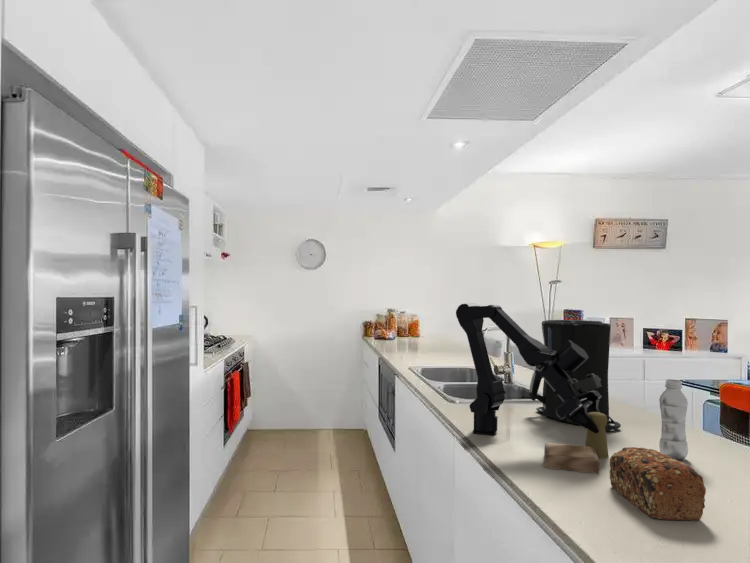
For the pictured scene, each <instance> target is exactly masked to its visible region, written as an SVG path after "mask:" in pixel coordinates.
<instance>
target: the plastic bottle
mask: <svg viewBox="0 0 750 563" xmlns="http://www.w3.org/2000/svg"><path fill="white" fill-rule="evenodd" d="M682 384H683V381H682V380H681V379H679V380H678V379H671V378H670V379H665V384H664V387H665V388H666V389H665V390H664V391H663V392H662V393H661V394H660V395H659V396H660V397H659V398H658V399H659V409H660V414H661V415H660V416H661V430H660V432H661V433H660V438H659V445H658V447H659V452H660V453H662V454H665V455H667V456H670V457H672V458H675V459H677V460H683V459H686V458H687V457H688V454H689V446H688V441H687V434H686V433H687V432H686V421H687V420H686V419H687V411H688V406H689V405H688V404H689V402H688V399H687V396H685V393H683V391H682V390H681V389H682V388H683V386H682Z"/></svg>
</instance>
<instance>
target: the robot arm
mask: <svg viewBox="0 0 750 563" xmlns="http://www.w3.org/2000/svg"><path fill="white" fill-rule="evenodd" d="M455 316H456V319H457V321H458V324H459V326H460V327H461V329H462V330H463V331H464V332H465V334H466V336H467V337H466V339H467V340H468V341H467V342H468V344H469V350H470V352H471V357H472V361H473V365H474V369H475V373H476V376H477V384H476V388H475V390H476V392H475V393H476V398H474V400H473V401H472V402H470V404H469V409H470V412H471V413H473V429H472V433H473V434H480V435H491V436H494V435H495V434H496V433H497V431H498V420H499V419H498V417H499V416H497V414H496V412H497V411H499V409H500V408H501V405H502V404H504V401H505V400H506V397H505V395H506V394H507V392H506V390H505V389H504V383H503V380H497V379H496V377H495V375H494V373H493V368H492V365H491V361H490V357H489V352H488V348H487V345H486V340H485V336H484V334H483V326H484V322H485V321H484V319H486V318H488V319H490V320H491V322H492V323H494V324H495V325H496V326H497V327H498V328H499V330H500V331H502V332H503V334H504V335H505V336H506V337H508V339H509V340H510V341H511V342H512V343H514V345H515V346H516V348H517V349H518V353H519V355H520V356H521V357H522V359H523V361H524V362H525V363H526V364H527V365H528V366H530V367H536V366H541V365H545V364H546V365H545V366H544V367H543V368H542V369H541V370H535V369H534V370H535V380H539V379H541V380H542V379H543V380H544V379H545V381H546V382H547V383H548V384H549V385H550V387H551V388H552V389H553V390H554V391H555V392H553V394H554V395H555V396H557V395H558V396H559V397H560V398H561V400H562V401H563V403H562V404H561V405H560V406H558V407H557V408H556V414H557V416H558V417H559V418H560V419H563V418H565V417H566V415H567V414H568V413H569V414H570V416H569V417H568V418H567V420H571V421H573V422H575V423H577V424H579V425H578V426H581V427H583V428H585V429H588V430H590V431H592V432H594V433H598V432H599V429H598V428H597V426H596V424H595V423H594V421H593V420H592V419H591V417H590V416H589V414H588V413H590V412H599V413H600V411H599V409H598V403H599V399H600V398H601V397H602V396H601V395H600V393H599V392H598V391H594V390H593V389H596V388H600V387H602V385H601V383H600V381H601V378H599V377H598V375H597V376H596V375H595V374H594V373H592V374H589V375H586V379H584V380H581V381H578V380H577V379H571V378H570V377H569V375H568V374H567V373H566V372H568V371H570V372H574V371H575V370H576V369H577V368H578V367H579V366H580V365H581V364H583V363H584V362H585V361H586V360H587V359H588V355H587V353H586V352H585V351H584V349H583V348H580V347H579V346H578V345H576V344H574V343H573V342H572V341H567V342H566V343H565V344H564V346H563V347H562V348H561V349H560V350H558V351H552V350H550V349H549V348H548V347H547V346H545V345H544V343H542V342H541V341H540V340H538V339H535V338H533V337H532V336H530V335H529V334H528V333H527V332H526V331H525V330H524V329H522V327H521V326H520V325H519V324H518V323H516V321H515V320H513V319H512V317H510V315H508V313H507V312H505V311H504V309H503V308H502V306H500V305H498V304H488V305H479V304H477V303H461V304H460V305H458V307H457V308H456V310H455ZM552 360H555V361H554V362H553V363H552V364H551V365H550V364H547V363H548V362H549V361H552ZM565 371H566V372H565ZM588 390H592V391H589V392H588ZM577 424H576V425H577ZM606 428H607V426H605V429H606Z"/></svg>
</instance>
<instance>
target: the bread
mask: <svg viewBox="0 0 750 563" xmlns="http://www.w3.org/2000/svg"><path fill="white" fill-rule="evenodd" d="M608 466H609V468H610V469H609V479H610V485H611V488H612V487H613V488H614V489H613V488H612V489H613V490H615V491H616V492H618V494H619V495H621V496H622V497H623V498H625V499H626V500H627V501H628V502H630V503H631V504H632V505H634V506H636V508H638V509H639V510H640V511H641V512H642V513H644V514H645V515H647V516H650V517H651V518H653V519H657V520H663V521H664V520H665V521H689V522H690V521H691V522H694V521H695V522H696V521H699V520H701V519H702V517H703V514H704V508H706V504H705V502H706V499H705V497H706V493H707V492H706V491H707V489H706V487H705V484H704V477H703V476H702V475H701V474H699V473H698V472H697V471H696V470H695V469H694V468H693V467H691V466H690V465H688V464H686V463H684V462H683V461H680V460H679V459H675V458H672V457H670V456H667V455H665V454H662V453H661V452H660V451H659V450H656V449H653V448H645V447H634V446H631V447H623V448H622V449H620V450H619V451H616V452H614V453H613V454H612V455H611V456H610V458H609V464H608Z"/></svg>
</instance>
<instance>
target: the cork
mask: <svg viewBox="0 0 750 563" xmlns="http://www.w3.org/2000/svg"><path fill="white" fill-rule="evenodd" d="M588 414H589V416H590V417H591V419H592V420H593V421H594V423H595V424H596V426H597V428H598V429H599V432H598V433H594V432H592V431H590V430H588V429H587V428H586V429H587V431H586V436H585V437H586V438H585V445H584V446H589V447H594V449H595V451H596V454H597V456H598V459H607V458H609V456H610V454H609V448H608V441H607V432H605V426H606V424H607V417H606V415H605V414H603V413H599V412H590V413H588Z"/></svg>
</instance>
